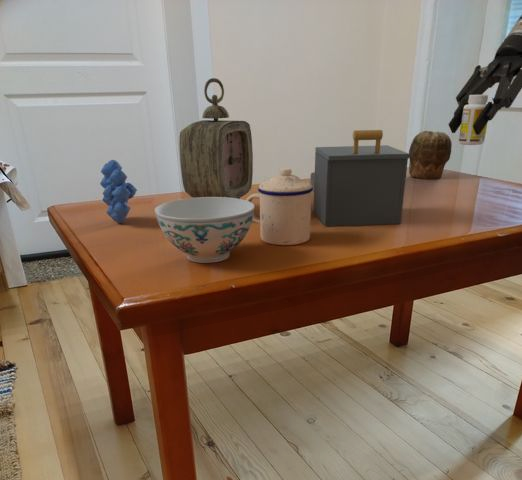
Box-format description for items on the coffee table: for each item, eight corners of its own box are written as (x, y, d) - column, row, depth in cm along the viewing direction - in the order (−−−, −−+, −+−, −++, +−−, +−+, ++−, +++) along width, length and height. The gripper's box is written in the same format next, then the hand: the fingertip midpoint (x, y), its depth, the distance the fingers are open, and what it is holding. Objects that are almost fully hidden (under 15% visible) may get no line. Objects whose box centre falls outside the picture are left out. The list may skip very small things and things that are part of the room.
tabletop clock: (221, 223, 98) (214, 77, 87) (182, 219, 102) (169, 78, 90) (253, 208, 110) (250, 77, 98) (217, 205, 113) (210, 78, 102)
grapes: (150, 226, 98) (143, 160, 92) (116, 231, 95) (105, 163, 89) (132, 214, 107) (124, 154, 101) (99, 219, 104) (89, 156, 98)
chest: (400, 223, 96) (408, 158, 91) (324, 226, 95) (327, 160, 90) (381, 209, 108) (387, 149, 102) (313, 211, 107) (315, 151, 101)
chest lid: (409, 158, 90) (412, 130, 88) (328, 160, 89) (329, 132, 87) (387, 149, 102) (389, 124, 100) (315, 151, 101) (316, 126, 99)
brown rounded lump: (413, 181, 136) (418, 132, 131) (401, 174, 146) (406, 129, 141) (453, 180, 137) (460, 131, 131) (439, 173, 146) (445, 128, 141)
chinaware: (231, 238, 89) (229, 193, 86) (272, 261, 77) (272, 210, 74) (148, 251, 83) (142, 203, 79) (180, 278, 71) (174, 223, 68)
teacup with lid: (318, 235, 90) (321, 166, 85) (299, 248, 83) (300, 174, 78) (258, 228, 95) (257, 162, 89) (235, 241, 88) (232, 170, 82)
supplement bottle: (487, 143, 118) (496, 94, 113) (478, 145, 114) (486, 95, 110) (463, 142, 121) (471, 94, 117) (454, 144, 118) (461, 95, 113)
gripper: (478, 36, 119) (423, 115, 119) (557, 28, 106) (496, 118, 105) (487, 62, 125) (435, 138, 124) (563, 58, 111) (506, 144, 110)
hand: (463, 129), depth 114 cm, fingers closed on supplement bottle, 6 cm apart
